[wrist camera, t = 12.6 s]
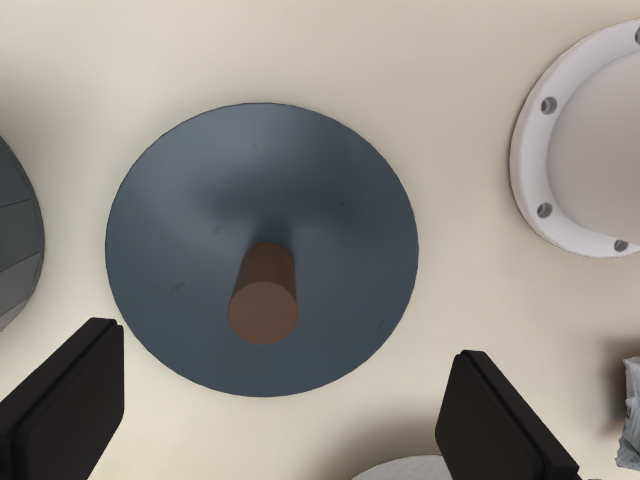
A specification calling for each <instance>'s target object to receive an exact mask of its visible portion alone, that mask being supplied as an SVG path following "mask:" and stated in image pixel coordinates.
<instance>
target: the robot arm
mask: <svg viewBox="0 0 640 480" xmlns="http://www.w3.org/2000/svg"><path fill="white" fill-rule="evenodd" d="M509 165H510V178H511V186H512V189H513V193H514V197H515V200H516V203H517V205H518V207H519V209H520V211H521V213H522V215H523V217H524V219H525V220H526V221H527V223H528V224H529V225H530V226H531V227H532V228H533V229H534V231H535V232H536V233H537V234H538V235H540V236H541V237H542V238H544V239H545V240H547V241H548V242H549V243H551V244H553V245H555V246H557V247H559V248H562V249H564V250H566V251H568V252H571V253H574V254H578V255H581V256H584V257H593V258H614V257H622V256H626V255H629V254H632V253H636V252H639V251H640V19H636V20H630V21H625V22H622V23H619V24H616V25H613V26H610V27H607V28H604V29H601V30H599V31H597V32H595V33H593V34H591V35H589V36H587V37H585V38H584V39H582V40H580V41H578V42H577V43H576V44H574V45H573V46H572V47H571V48H569V49H568V50H567V51H565V52H564V53H563V54H561V55H560V56H559V57H558V58H557V59H556V60H555V61H554V63H553V64H552V65H551V66H550V67H549V68H548V69H547V70H546V71H545V72H544V73H543V74H542V76H541V77H540V79H539V80H538V82H537V83H536V85H535V86H534V88H533V89H532V91H531V92H530V94H529V95H528V97H527V99H526V101H525V104H524V106H523V108H522V110H521V112H520V114H519V117H518V120H517V123H516V127H515V130H514V134H513V137H512V142H511V151H510V161H509ZM123 414H124V330H123V326H122V325H117V321H116V320H115V319H106V318H95V317H93V318H90V319H89V320H88V321H87V322H86V323H85V324H84V325H82V326H81V327H80V328H79V329H78V330H77V331H76V332H75V333H74V334H73V335H72V336H71V337H70V338H69V339H68V340H67V341H66V342H65V343H63V344H62V345H61V346H60V347H59V348H58V349H57V350H56V351H55V352H54V353H53V354H52V355H51V356H50V357H49V358H48V359H47V360H45V361H44V362H43V363H42V364H41V365H40V366H39V367H38V368H37V369H35V370H34V371H33V372H32V373H31V374H30V375H29V376H28V377H27V378H26V379H25V380H24V381H23V382H21V383H20V384H19V385H18V386H17V387H16V388H15V389H14V390H13V391H12V392H11V393H10V394H9V395H8V396H7V397H6V398H5V399H3V400H2V401H1V402H0V480H87V479H88V477H89V476H90V474H91V472H92V471H93V469H94V467H95V466H96V464H97V462H98V460H99V459H100V457H101V455H102V454H103V452H104V450H105V448H106V447H107V445H108V443H109V442H110V440H111V438H112V437H113V435H114V433H115V431H116V430H117V428H118V426H119V425H120V423H121V420H122V418H123ZM435 439H436V443H437V445H438V447H439V450H440V452H441V454H442V456H443V459H444V461H445V463H446V466H447V468H448V470H449V472H450V475H451V477H452V479H453V480H582V479H581V477H580V476H579V475H578V474H577V472H578V470H579V465H578V464H577V463H576V462H575V461H574V459H573V458H572V457H571V456H570V455H569V453H568V452H567V451H566V450H565V448H564V447H563V446H562V445H561V444H560V442H559V441H558V440H557V439H556V438H555V436H554V435H553V434H552V433H551V432H550V430H549V429H548V428H547V427H546V425H545V424H544V423H543V422H542V421H541V419H540V418H539V417H538V416H537V415H536V413H535V412H534V411H533V410H532V409H531V407H530V406H529V405H528V404H527V403H526V401H525V400H524V399H523V398H522V396H521V395H520V394H519V393H518V392H517V390H516V389H515V388H514V387H513V386H512V384H511V383H510V382H509V381H508V380H507V378H506V377H505V376H504V375H503V373H502V372H501V371H500V370H499V369H498V367H497V366H496V365H495V364H494V363H493V361H492V360H491V359H490V358H489V357H488V355H487V354H486V353H485V352H483V351H473V350H463V351H462V352H461V353H460V354H457V355H456V356H455V358H454V361H453V364H452V368H451V372H450V376H449V379H448V383H447V387H446V391H445V394H444V398H443V402H442V406H441V409H440V413H439V417H438V421H437V424H436V428H435ZM588 480H600V479H588Z"/></svg>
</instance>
